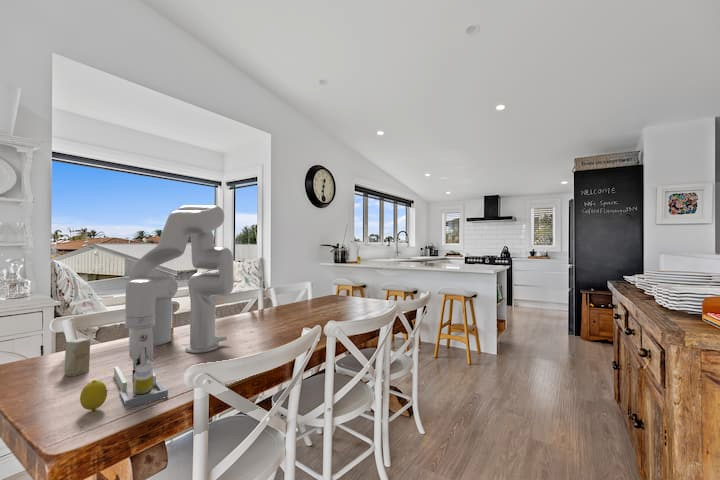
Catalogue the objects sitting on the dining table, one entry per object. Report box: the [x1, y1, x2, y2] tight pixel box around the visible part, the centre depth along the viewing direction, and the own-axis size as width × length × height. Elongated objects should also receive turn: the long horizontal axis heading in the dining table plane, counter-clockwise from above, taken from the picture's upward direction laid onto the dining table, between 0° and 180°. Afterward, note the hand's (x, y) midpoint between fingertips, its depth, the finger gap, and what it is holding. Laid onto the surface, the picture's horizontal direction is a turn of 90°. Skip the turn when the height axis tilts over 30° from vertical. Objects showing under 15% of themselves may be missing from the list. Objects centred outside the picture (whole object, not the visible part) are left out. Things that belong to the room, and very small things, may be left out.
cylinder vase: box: [152, 297, 173, 347], centre depth 147 cm, size 12×12×25 cm
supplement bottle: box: [132, 362, 154, 397], centre depth 97 cm, size 5×5×8 cm
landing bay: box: [119, 381, 169, 409], centre depth 96 cm, size 10×10×2 cm
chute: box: [113, 366, 157, 394], centre depth 107 cm, size 8×17×3 cm, turn 43°
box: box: [63, 337, 91, 377], centre depth 112 cm, size 5×4×11 cm
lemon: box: [79, 379, 108, 412], centre depth 88 cm, size 6×6×8 cm
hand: (139, 382), depth 100 cm, fingers closed
